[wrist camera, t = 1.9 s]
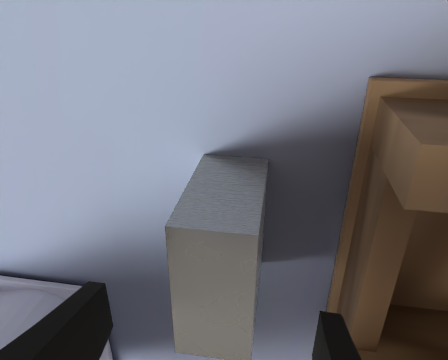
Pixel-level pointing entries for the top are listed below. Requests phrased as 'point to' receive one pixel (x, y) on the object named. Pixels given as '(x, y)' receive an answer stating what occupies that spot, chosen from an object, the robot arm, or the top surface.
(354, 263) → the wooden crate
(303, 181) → the top surface
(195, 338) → the grey concrete block
